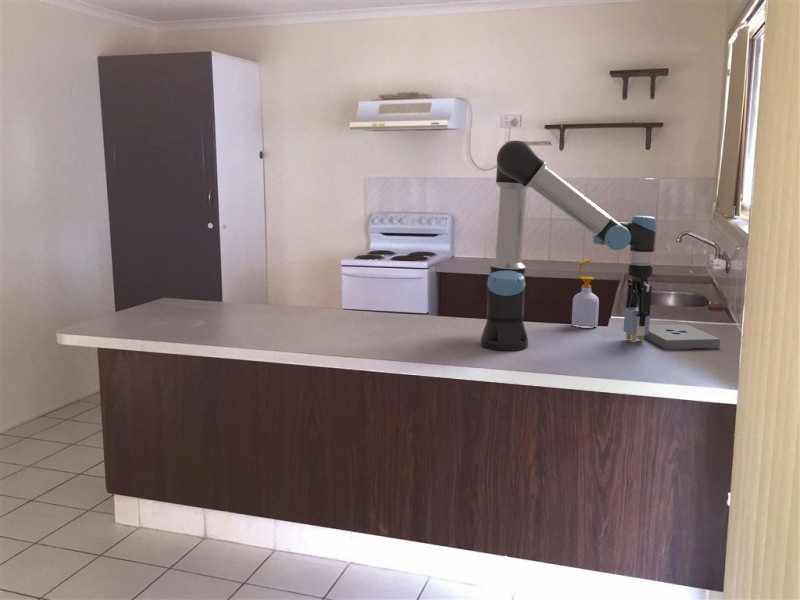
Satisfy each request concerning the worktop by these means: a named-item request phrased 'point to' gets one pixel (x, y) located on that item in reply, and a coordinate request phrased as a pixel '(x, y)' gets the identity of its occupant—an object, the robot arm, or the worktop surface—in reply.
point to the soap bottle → (585, 304)
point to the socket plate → (681, 337)
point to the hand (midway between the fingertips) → (635, 333)
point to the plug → (633, 324)
